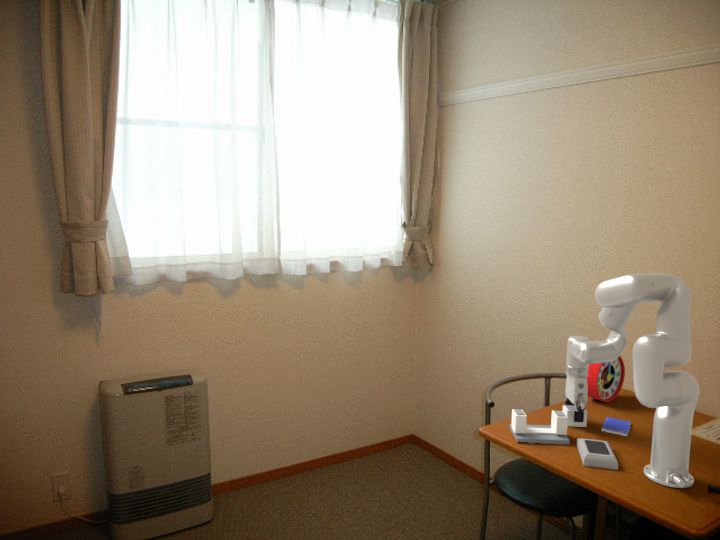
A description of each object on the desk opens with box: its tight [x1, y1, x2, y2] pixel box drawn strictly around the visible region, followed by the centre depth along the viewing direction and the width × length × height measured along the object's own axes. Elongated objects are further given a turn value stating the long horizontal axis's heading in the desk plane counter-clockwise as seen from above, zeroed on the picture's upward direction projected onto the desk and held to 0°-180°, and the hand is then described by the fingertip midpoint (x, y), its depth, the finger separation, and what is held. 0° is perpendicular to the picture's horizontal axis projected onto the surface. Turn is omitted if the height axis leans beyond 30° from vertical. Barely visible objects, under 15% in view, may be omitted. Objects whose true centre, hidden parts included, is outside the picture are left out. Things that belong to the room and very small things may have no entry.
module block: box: [562, 404, 588, 428], centre depth 193 cm, size 5×7×6 cm
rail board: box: [508, 408, 571, 446], centre depth 181 cm, size 12×17×8 cm
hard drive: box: [601, 416, 632, 437], centre depth 190 cm, size 2×8×12 cm
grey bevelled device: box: [576, 437, 619, 471], centre depth 167 cm, size 10×4×15 cm
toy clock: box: [587, 355, 626, 403], centre depth 217 cm, size 20×6×20 cm, turn 124°
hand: (573, 416), depth 193 cm, fingers open, 9 cm apart
